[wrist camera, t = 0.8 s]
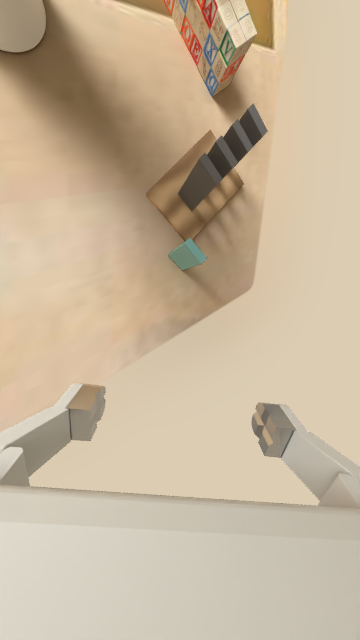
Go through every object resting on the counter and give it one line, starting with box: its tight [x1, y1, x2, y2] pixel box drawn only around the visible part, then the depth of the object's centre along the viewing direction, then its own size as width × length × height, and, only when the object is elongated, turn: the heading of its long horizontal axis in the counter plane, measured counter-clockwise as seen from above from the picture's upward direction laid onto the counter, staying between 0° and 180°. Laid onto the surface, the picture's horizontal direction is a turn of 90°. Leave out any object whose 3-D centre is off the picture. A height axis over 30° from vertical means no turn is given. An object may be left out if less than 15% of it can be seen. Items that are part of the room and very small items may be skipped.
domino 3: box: [207, 136, 238, 189], centre depth 38 cm, size 5×2×12 cm, turn 46°
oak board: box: [147, 130, 244, 241], centre depth 44 cm, size 14×22×1 cm, turn 136°
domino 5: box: [217, 119, 253, 185], centre depth 38 cm, size 5×2×12 cm, turn 46°
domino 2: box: [168, 238, 207, 270], centre depth 40 cm, size 5×2×12 cm, turn 46°
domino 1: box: [178, 153, 222, 211], centre depth 37 cm, size 5×2×12 cm, turn 46°
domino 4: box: [234, 104, 267, 167], centre depth 39 cm, size 5×2×12 cm, turn 46°
